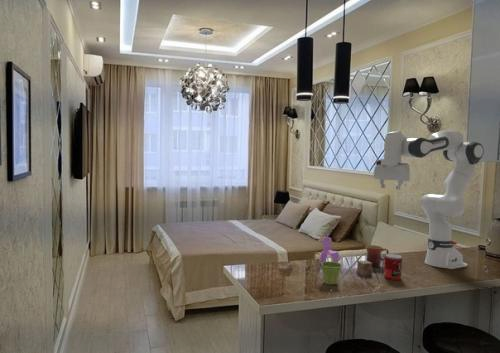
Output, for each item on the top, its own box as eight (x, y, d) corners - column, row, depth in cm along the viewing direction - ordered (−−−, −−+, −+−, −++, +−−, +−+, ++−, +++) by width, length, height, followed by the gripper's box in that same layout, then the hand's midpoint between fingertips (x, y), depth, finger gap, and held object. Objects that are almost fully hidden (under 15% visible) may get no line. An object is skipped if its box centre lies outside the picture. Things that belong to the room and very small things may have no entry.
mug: (366, 267, 207) (367, 248, 207) (363, 263, 216) (364, 244, 215) (389, 268, 206) (390, 249, 206) (385, 264, 215) (386, 245, 214)
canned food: (393, 281, 185) (394, 258, 185) (380, 276, 192) (381, 254, 192) (404, 279, 189) (405, 256, 188) (391, 274, 196) (392, 253, 195)
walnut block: (365, 272, 199) (366, 260, 199) (371, 274, 194) (372, 263, 194) (357, 272, 198) (357, 261, 197) (362, 275, 193) (363, 263, 193)
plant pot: (337, 287, 174) (337, 268, 173) (317, 283, 179) (317, 264, 178) (343, 282, 182) (344, 263, 181) (324, 278, 187) (325, 260, 186)
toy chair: (330, 268, 204) (331, 239, 203) (317, 264, 211) (318, 237, 210) (340, 265, 210) (341, 238, 209) (327, 262, 216) (328, 235, 215)
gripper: (413, 163, 196) (411, 190, 197) (380, 162, 213) (379, 187, 214) (405, 162, 193) (403, 190, 193) (372, 161, 210) (371, 187, 211)
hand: (390, 188), depth 204 cm, fingers open, 8 cm apart
